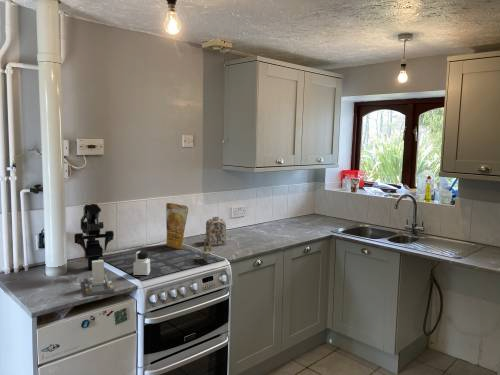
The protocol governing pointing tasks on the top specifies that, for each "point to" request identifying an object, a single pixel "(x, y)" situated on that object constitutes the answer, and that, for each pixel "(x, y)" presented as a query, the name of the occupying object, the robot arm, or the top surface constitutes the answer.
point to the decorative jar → (216, 231)
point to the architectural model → (204, 250)
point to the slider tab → (98, 272)
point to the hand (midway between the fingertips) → (95, 251)
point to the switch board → (98, 286)
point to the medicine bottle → (141, 263)
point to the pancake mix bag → (175, 224)
